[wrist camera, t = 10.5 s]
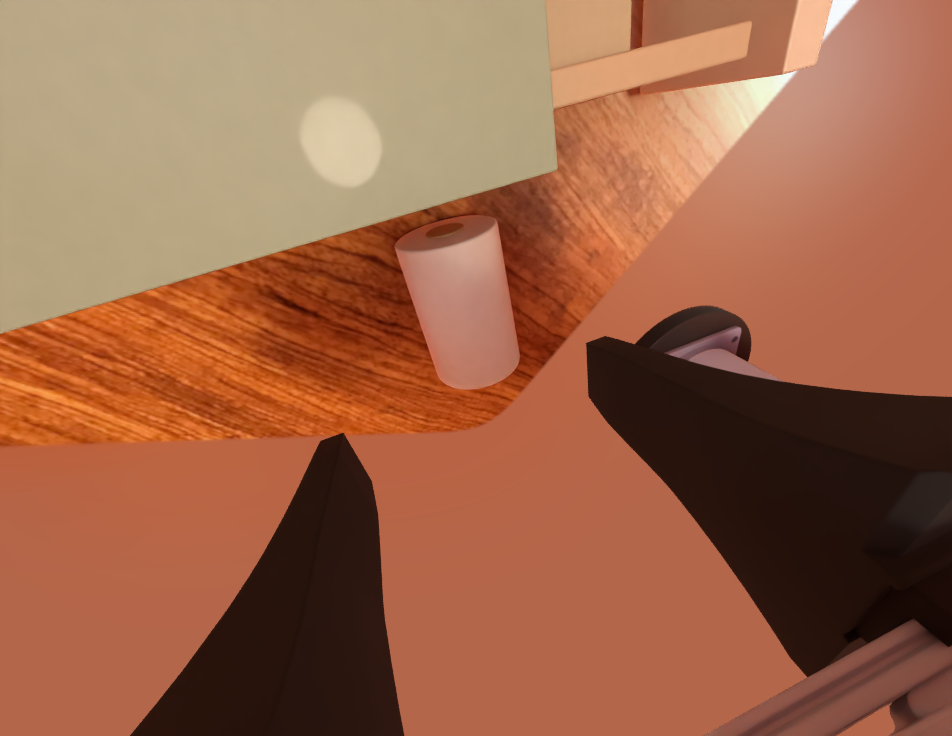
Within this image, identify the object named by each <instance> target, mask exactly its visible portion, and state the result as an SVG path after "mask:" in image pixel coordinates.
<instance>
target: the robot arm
mask: <svg viewBox="0 0 952 736" xmlns="http://www.w3.org/2000/svg"><path fill="white" fill-rule="evenodd" d="M740 335H741V328H740V327H738V326H732V327H730V328H727V329H725V330H722V331H719V332H717V333H714V334H712V335H709V336H706V337H704V338H701V339H699V340H696V341H693V342H691V343H688V344H686V345H683V346H680V347H678V348H675V349H673V350H670V351H667V352H665V353H660V352H657V351H654V350H651V349H648V348H644V347H641V346H638V345H635V344H631V343H628V342H625V341H621V340H618V339H614V338H610V337H606V336H604V337H601V338H599V339H596V340H594V341H590V342H588V343H586V346H587V368H588V369H587V371H588V393H589V398H590V399H591V401H592V402H593V403H594V405H595V406H596V408H597V409H598V410H599V412H600V413H601V414H602V416H603V417H604V418H605V420H606V421H607V422H608V424H609V425H610V426H611V427H612V428H613V429H614V430H615V431H616V432H617V433H618V434H619V435H620V436H621V437H622V438H623V439H624V441H625V442H626V443H627V444H628V445H629V446H630V447H631V448H632V449H633V450H634V451H635V452H636V453H637V454H638V455H639V456H640V457H641V458H642V459H643V460H644V461H645V462H646V463H647V464H648V465H649V466H650V467H651V468H652V470H653V471H654V472H655V473H657V475H658V476H659V477H660V478H661V479H662V480H663V481H664V482H665V483H666V484H667V485H668V487H669V488H670V489H671V490H672V491H673V492H674V494H675V495H676V496H677V498H678V499H679V500H680V501H681V502H682V504H683V505H684V506H685V508H686V509H687V510H688V512H689V513H690V514H691V515H692V517H693V518H694V519H695V520H696V522H697V523H698V524H699V526H700V527H701V528H702V530H703V531H704V532H705V534H706V535H707V536H708V538H709V539H710V540H711V542H712V543H713V544H714V546H715V547H716V548H717V550H718V551H719V552H720V554H721V555H722V556H723V558H724V559H725V561H726V562H727V564H728V565H729V567H730V568H731V569H732V571H733V572H734V574H735V575H736V576H737V578H738V579H739V581H740V582H741V583H742V585H743V586H744V587H745V589H746V591H747V592H748V594H749V595H750V597H751V598H752V600H753V601H754V602H755V604H756V606H757V607H758V609H759V610H760V612H761V613H762V615H763V616H764V618H765V619H766V621H767V622H768V624H769V625H770V626H771V628H772V630H773V631H774V633H775V634H776V636H777V637H778V639H779V641H780V642H781V644H782V645H783V647H784V649H785V650H786V652H787V653H788V655H789V656H790V658H791V659H792V660H793V661H794V662H795V664H796V665H797V666H798V667H799V668H800V669H801V670H802V672H803V673H804V674H805V675H806V676H807V677H808V678H806V679H804V680H803V681H800V682H799V683H797V684H795V685H793V686H792V687H790V688H788V689H786V690H784V691H783V692H781V693H779V694H777V695H776V696H774V697H772V698H770V699H768V700H767V701H765V702H763V703H761V704H759V705H758V706H756V707H754V708H752V709H750V710H749V711H747V712H745V713H743V714H742V715H740V716H738V717H736V718H734V719H733V720H731V721H729V722H727V723H725V724H724V725H722V726H720V727H718V728H717V729H715V730H713V731H711V732H709V733H708V734H706V735H704V736H836V735H838V734H840V733H841V732H843V731H845V730H846V729H848V728H850V727H851V726H853V725H855V724H856V723H858V722H860V721H862V720H863V719H865V718H867V717H868V716H870V715H872V714H873V713H874V712H877V711H878V710H880V709H882V708H883V707H885V706H887V705H889V704H890V703H892V704H891V705H890V715H891V717H892V719H893V721H894V724H895V730H894V732H893V733H891V734H890V735H888V736H952V397H937V396H913V395H897V394H884V393H871V392H860V391H851V390H840V389H832V388H824V387H817V386H809V385H801V384H795V383H788V382H783V381H782V380H780V379H778V378H776V377H774V376H773V375H771V374H769V373H767V372H765V371H763V370H761V369H760V368H757V367H756V366H754V365H752V364H750V363H749V362H747V361H745V360H743V359H741V358H739V357H738V356H736V352H737V348H738V343H739V339H740ZM383 606H384V605H383V593H382V573H381V555H380V537H379V522H378V512H377V506H376V501H375V495H374V490H373V485H372V481H371V479H370V477H369V476H368V474H367V472H366V471H365V469H364V467H363V465H362V464H361V462H360V460H359V459H358V457H357V455H356V454H355V452H354V450H353V448H352V447H351V445H350V444H349V442H348V440H347V438H346V437H345V435H344V433H341V434H338V435H336V436H333V437H330V438H327V439H325V440H322V441H320V443H319V445H318V447H317V449H316V451H315V453H314V455H313V458H312V460H311V462H310V464H309V466H308V468H307V470H306V472H305V474H304V476H303V479H302V481H301V483H300V485H299V487H298V489H297V491H296V493H295V495H294V497H293V499H292V501H291V503H290V505H289V507H288V509H287V511H286V513H285V515H284V517H283V519H282V521H281V523H280V524H279V526H278V528H277V530H276V532H275V533H274V535H273V537H272V539H271V541H270V542H269V544H268V546H267V548H266V550H265V551H264V553H263V555H262V556H261V558H260V560H259V561H258V563H257V565H256V566H255V568H254V570H253V571H252V573H251V574H250V576H249V578H248V579H247V581H246V582H245V584H244V585H243V587H242V588H241V590H240V591H239V593H238V594H237V596H236V597H235V599H234V600H233V602H232V603H231V605H230V606H229V608H228V609H227V611H226V612H225V614H224V615H223V616H222V618H221V619H220V620H219V622H218V623H217V624H216V626H215V627H214V629H213V630H212V631H211V633H210V634H209V635H208V637H207V638H206V640H205V641H204V642H203V644H202V645H201V646H200V648H199V649H198V650H197V652H196V653H195V654H194V656H193V657H192V659H191V660H190V661H189V663H188V664H187V666H186V667H185V668H184V669H183V671H182V672H181V673H180V675H179V676H178V677H177V678H176V680H175V681H174V682H173V683H172V685H171V686H170V687H169V688H168V690H167V691H166V692H165V693H164V695H163V696H162V697H161V698H160V700H159V701H158V702H157V704H156V705H155V706H154V707H153V709H152V710H151V711H150V712H149V713H148V715H147V716H146V717H145V718H144V719H143V721H142V722H141V723H140V724H139V725H138V727H137V728H136V729H135V730H134V732H133V733H132V734H131V735H130V736H404V732H403V726H402V721H401V716H400V711H399V705H398V699H397V693H396V687H395V682H394V675H393V669H392V663H391V657H390V650H389V644H388V637H387V630H386V624H385V617H384V607H383Z"/></svg>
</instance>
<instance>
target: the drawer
mask: <svg viewBox="0 0 952 736" xmlns="http://www.w3.org/2000/svg"><path fill="white" fill-rule="evenodd" d="M831 4H832V0H644V1H643V27H642V47H641V48H637V49H633V50H630V46H631V7H632V0H546V13H547V26H548V40H549V54H550V68H551V82H552V96H553V110H555V109H559V108H562V107H566V106H570V105H574V104H577V103H581V102H585V101H588V100H592V99H596V98H600V97H603V96H607V95H611V94H615V93H618V92H622V91H626V90H629V89H633V88H637V87H640V95H647V94H654V93H660V92H667V91H674V90H681V89H687V88H694V87H701V86H708V85H714V84H721V83H728V82H734V81H741V80H748V79H755V78H761V77H768V76H775V75H782V74H786V73H789V72H793V71H797V70H800V69H804V68H807V67H811V66H813V65H815V64H816V63H817V60H818V56H819V52H820V48H821V44H822V40H823V36H824V32H825V28H826V24H827V20H828V16H829V12H830V8H831Z"/></svg>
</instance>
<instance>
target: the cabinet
mask: <svg viewBox="0 0 952 736" xmlns="http://www.w3.org/2000/svg"><path fill="white" fill-rule="evenodd" d="M557 169H558V165H557V151H556V138H555V124H554V110H553V96H552V82H551V68H550V54H549V40H548V26H547V13H546V0H0V334H2V333H5V332H9V331H12V330H15V329H19V328H22V327H26V326H29V325H33V324H36V323H39V322H43V321H46V320H50V319H53V318H56V317H60V316H63V315H67V314H70V313H73V312H77V311H80V310H84V309H87V308H90V307H94V306H97V305H101V304H104V303H108V302H111V301H114V300H118V299H121V298H125V297H128V296H131V295H135V294H138V293H142V292H145V291H148V290H152V289H155V288H159V287H162V286H165V285H169V284H172V283H176V282H179V281H182V280H186V279H189V278H193V277H196V276H200V275H203V274H206V273H210V272H213V271H217V270H220V269H223V268H227V267H230V266H234V265H237V264H240V263H244V262H247V261H251V260H254V259H257V258H261V257H264V256H268V255H271V254H275V253H278V252H281V251H285V250H288V249H292V248H295V247H298V246H302V245H305V244H309V243H312V242H315V241H319V240H322V239H326V238H329V237H332V236H336V235H339V234H343V233H346V232H349V231H353V230H356V229H360V228H363V227H367V226H370V225H373V224H377V223H380V222H384V221H387V220H390V219H394V218H397V217H401V216H404V215H407V214H411V213H414V212H418V211H421V210H424V209H428V208H431V207H435V206H438V205H441V204H445V203H448V202H452V201H455V200H459V199H462V198H465V197H469V196H472V195H476V194H479V193H482V192H486V191H489V190H493V189H496V188H499V187H503V186H506V185H510V184H513V183H516V182H520V181H523V180H527V179H530V178H534V177H537V176H540V175H544V174H547V173H551V172H554V171H556V170H557Z"/></svg>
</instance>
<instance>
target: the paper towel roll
mask: <svg viewBox="0 0 952 736" xmlns="http://www.w3.org/2000/svg"><path fill="white" fill-rule="evenodd" d="M395 251H396V254H397V257H398V260H399V263H400V266H401V269H402V272H403V275H404V278H405V281H406V284H407V286H408V289H409V292H410V295H411V298H412V301H413V304H414V307H415V310H416V313H417V316H418V319H419V322H420V325H421V328H422V331H423V334H424V337H425V340H426V343H427V346H428V349H429V352H430V355H431V358H432V361H433V364H434V367H435V369H436V372H437V375H438V377H439V379H440V380H441V381H442V382H443V383H444V384H446V385H448V386H450V387H452V388H456V389H465V390H470V389H479V388H484V387H487V386H491V385H493V384H496V383H498V382H500V381H502V380H503V379H505V378H506V377H508V376H509V375H510V374H511V373H512V372H513V371H514V370H515V369H516V367H517V365H518V363H519V360H520V353H519V347H518V341H517V335H516V329H515V323H514V317H513V311H512V306H511V300H510V294H509V288H508V282H507V276H506V270H505V264H504V258H503V252H502V246H501V240H500V234H499V229H498V223H497V221H496V219H495V218H493V217H490V216H485V215H469V216H461V217H455V218H450V219H445V220H441V221H438V222H434V223H431V224H428V225H425V226H422V227H420V228H417V229H415V230H413V231H411V232H409V233H407V234H406V235H404V236H402V237H401V238H400V239H399V240H398V241H397V242H396V243H395Z"/></svg>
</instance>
